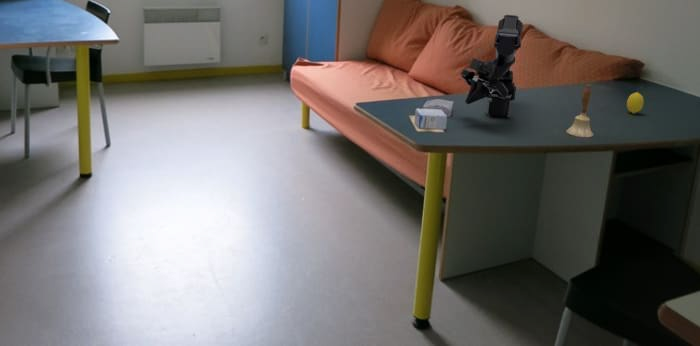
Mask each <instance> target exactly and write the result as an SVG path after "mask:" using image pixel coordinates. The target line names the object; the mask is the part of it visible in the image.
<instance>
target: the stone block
mask: <svg viewBox="0 0 700 346" xmlns="http://www.w3.org/2000/svg"><path fill="white" fill-rule="evenodd" d="M453 108H454V101H453V100H452V101H451V100H445V99H441V98H439V99H437V98H435V99H429V100H426V102H425V103H424V104H423V106H422V109H440V110H442V111H443V112H444V113H445V115H446V116H447V118H450V117H451V116H452V113H453Z"/></svg>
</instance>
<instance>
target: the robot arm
mask: <svg viewBox="0 0 700 346" xmlns="http://www.w3.org/2000/svg"><path fill="white" fill-rule="evenodd" d="M497 25H498V26H497V30H496V31H497V32H496V34H495V38H494V44H493V48H496V49H495V57H494V58H493V59H492V60H491V61H490V60H488V59H487V60H485V61H483V60H479V59H476V58H472V60H471V61H470V64H469V66H468V69H463V70H462V72H461V73H460V76H461V77H462V79H463V80H464V82H465V83H466V85H468V86H469V87H470V88H469V92H468V94H467V96H466V99H465V101H464V103H465V104H467V105H470V104H473V103H474V102H475V103H476V102H477V101H479V100H483V99H485V98H487V99H489V100H487V103H486V110H485V111H486V112H485V113H486V115H487V116H489V117H490V118H495V119H496V118H497V119H498V118H499V119H510V116H509V109H510V105H511V104H510V102H512V101H515V99H516V91H517V87H516V84H515V82H513V81H514V71H513V70H511V67H512V66H513V65H514V64H515V63H516V55H515V53H516V51H517V50H519V49H521V47H522V39H521V38H522V32H523V25H524V24H523V22H522V21H521V20H520V17H519V16H518V15H514V14H505V15H503V18H501V19H500V20H498V23H497ZM470 69H472V70H470ZM473 70H474V71H476V72H474V71H473Z"/></svg>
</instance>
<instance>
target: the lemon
mask: <svg viewBox="0 0 700 346" xmlns="http://www.w3.org/2000/svg"><path fill="white" fill-rule="evenodd" d="M644 102H645V101H644V96H643V95H642V94H640V92H638V91H637V92H633V93H632V94H630V95H629V96H628V99H627V101H626V107H627V109H628V111H629V112H631V114H632V115H634V114H636V113H638V112H640V111H641V110H642V109H643V107H644Z"/></svg>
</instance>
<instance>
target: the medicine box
mask: <svg viewBox="0 0 700 346" xmlns="http://www.w3.org/2000/svg"><path fill="white" fill-rule="evenodd" d="M414 116H415V120H414V121H415V123H416V125H417V126H418V128H424V129H443V130H446V129H447V121H448V117H447V116H446V115H445V113H444V112H443V111H442V110H440V109H423V108H415V112H414Z"/></svg>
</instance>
